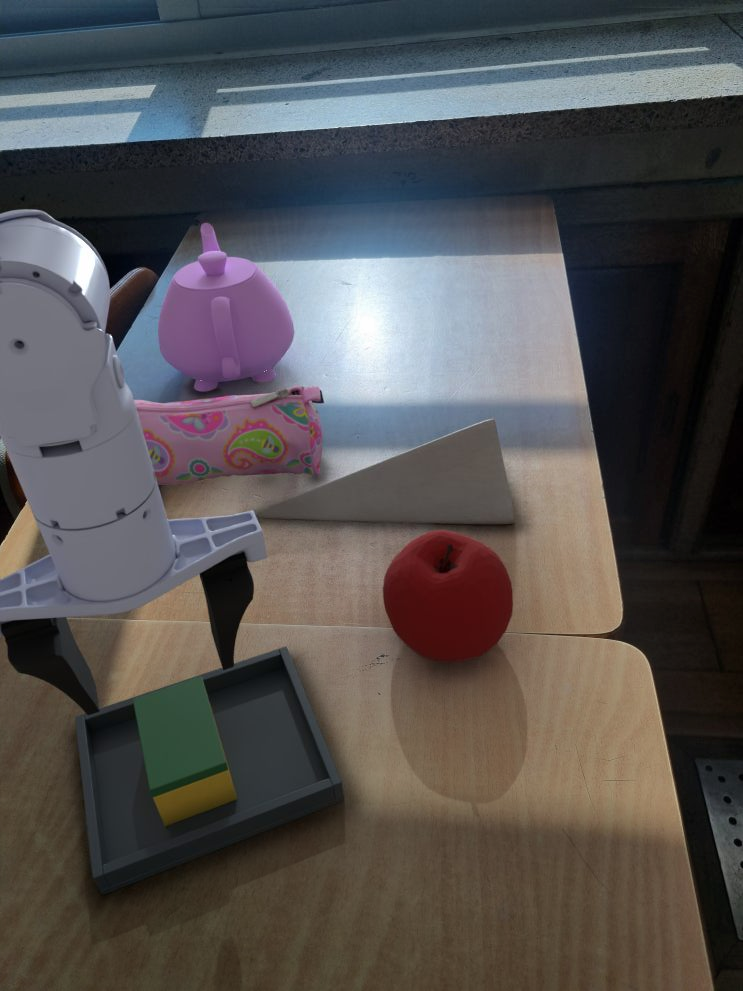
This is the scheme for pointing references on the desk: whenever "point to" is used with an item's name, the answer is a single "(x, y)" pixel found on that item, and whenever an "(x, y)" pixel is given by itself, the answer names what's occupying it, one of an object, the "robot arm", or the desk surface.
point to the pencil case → (234, 435)
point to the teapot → (223, 319)
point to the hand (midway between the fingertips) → (159, 677)
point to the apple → (448, 596)
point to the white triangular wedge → (417, 486)
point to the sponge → (183, 751)
